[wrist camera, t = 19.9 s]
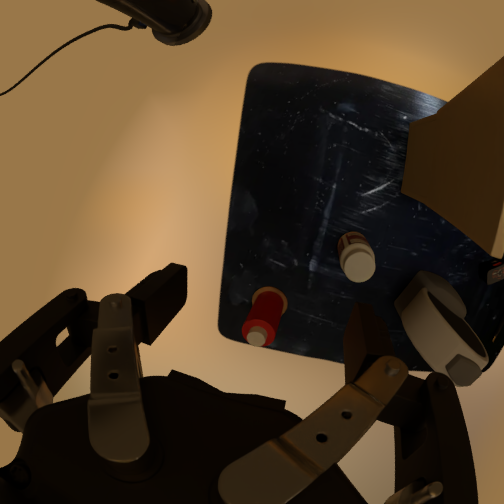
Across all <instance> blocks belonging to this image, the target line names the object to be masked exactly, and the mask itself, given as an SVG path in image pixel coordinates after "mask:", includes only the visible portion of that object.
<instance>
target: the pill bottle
mask: <svg viewBox="0 0 504 504" xmlns="http://www.w3.org/2000/svg"><path fill="white" fill-rule="evenodd" d="M338 254H339V260H340V265H341V268H342V270H343V271H344V272H345V274H346V276H347V277H348V278H349V279H350V280H351V281H354V282H364V281H366V280H368V279H369V278H370V277H371V276H372V275H373V273H374V271H375V256H374V253H373V251H372V249H371V247H370V245H369V244H368V242H367V240H366V238H365V237H364V236H363V235H362V234H360V233H358V232H348V233H346V234H344V235H343V236H342V237H341V238H340V240H339V242H338Z"/></svg>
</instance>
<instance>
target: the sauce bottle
mask: <svg viewBox="0 0 504 504" xmlns="http://www.w3.org/2000/svg"><path fill="white" fill-rule="evenodd" d="M283 307H284V302H283V299H282V298H281V296H280V295H279V294H277V293H275V292H273V291H264V292H262V293H260V294H259V295H258V296H257V298H256V300H255V302H254V304H253V306H252V308H251V310H250V312H249V314H248V317H247V319H246V321H245V323H244V325H243V327H242V334H243V337H244V338H245V339H246V341H248V342H249V343H250V344H251V345H253V346H267V345H269V344H271V343H272V342H273V340H274V338H275V335H276V332H277V328H278V325H279V321H280V318H281V314H282V311H283Z"/></svg>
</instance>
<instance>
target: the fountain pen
mask: <svg viewBox="0 0 504 504" xmlns="http://www.w3.org/2000/svg"><path fill="white" fill-rule="evenodd" d="M503 324H504V314H503V316H502V319H501V321H500V323H499V326H498V328H497V330H496V332H495V335H494V338H493V341H494V339H495V337H497V335H498V333H499V331H500V329H501V328H502V326H503Z"/></svg>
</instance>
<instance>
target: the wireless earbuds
mask: <svg viewBox="0 0 504 504" xmlns="http://www.w3.org/2000/svg"><path fill="white" fill-rule="evenodd" d="M503 254H504V253H503ZM480 277H481V279H483V280H484V281H485V282H486V283H487V284H488V285H490V284H493V283H495V282H497V281H500V280H502V279H504V256H502V259H498V258H496V259H494V260H491V261H489V262H486V263H483V264H481V265H480Z"/></svg>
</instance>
